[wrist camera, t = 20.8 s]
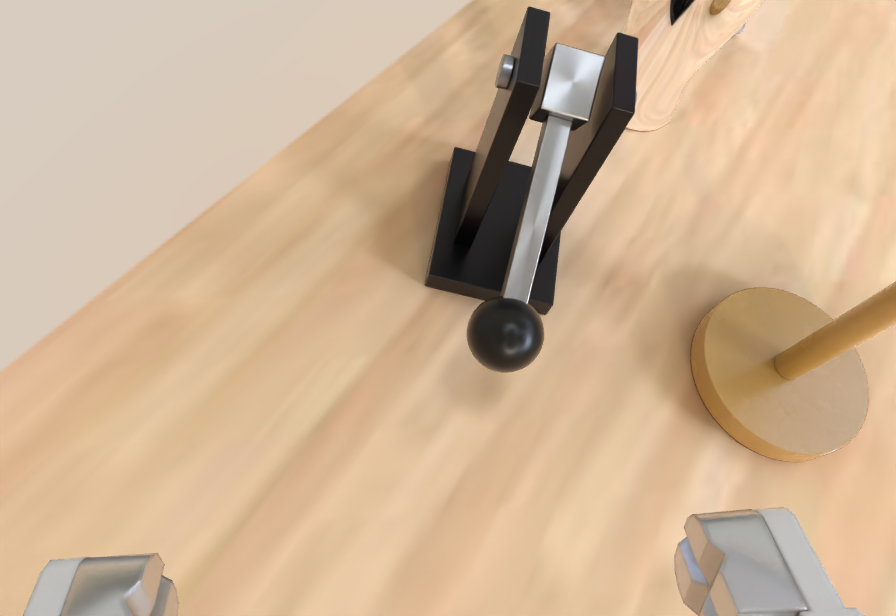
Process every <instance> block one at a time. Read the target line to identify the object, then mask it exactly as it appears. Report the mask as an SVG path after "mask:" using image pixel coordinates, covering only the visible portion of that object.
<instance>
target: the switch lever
mask: <svg viewBox="0 0 896 616" xmlns="http://www.w3.org/2000/svg"><path fill="white" fill-rule="evenodd" d="M604 60H605V57H604V56H602V55H599V54H595V53H592V52H588V51H585V50H581V49H577V48H574V47H570V46H567V45H563V44H560V43H556V44H555V45H554V46H553V48H552V49H551V50H550V52H549V53H548V54H547V56H546V57H545V58H544V63H543V70H542V78H541V85H540V89H539V91H538V93H537V96H536V98H535V100H534V102H533V105H532V108H531V112H530V116H529V118H530V119H531V120H534V121H538V122H542V123H543V124H542V128H541V132H540V136H539V140H538V144H537V148H536V152H535V157H534V161H533V165H532V169H531V173H530V177H529V181H528V185H527V189H526V193H525V197H524V201H523V205H522V209H521V213H520V218H519V222H518V226H517V230H516V234H515V238H514V242H513V246H512V250H511V254H510V258H509V262H508V266H507V270H506V274H505V279H504V283H503V287H502V291H501V295H500V296H497V297H493V298H491V299H488V300H486V301H485V302H483V303H482V304H481V305H479V306H478V307H477V308H476V310H475V311H474V312H473V314H472V315H471V318H470V320H469V323H468V327H467V341H468V345H469V348H470V350H471V352H472V354H473V356H474V357H475V358H476V359H477V361H478V362H480V363H481V364H482V365H483V366H485V367H487V368H488V369H491V370H493V371H497V372H505V373H507V372H514V371H518V370H520V369H523V368H525V367H526V366H528V365H529V364H530V363H531V362H533V361H534V359H535V358H536V357H537V356H538V354H539V352H540V350H541V348H542V345H543V340H544V328H543V323H542V321H541V318H540V316H539V314H538V313H537V311H536V310H535V309H534V308H533V307H532V306H531V305H530V304H529V303H528V300H529V296H530V292H531V288H532V284H533V280H534V276H535V272H536V268H537V264H538V259H539V255H540V251H541V247H542V243H543V239H544V235H545V231H546V227H547V223H548V219H549V215H550V211H551V207H552V203H553V199H554V195H555V191H556V187H557V183H558V179H559V175H560V171H561V167H562V163H563V159H564V155H565V151H566V147H567V143H568V138H569V134H570V130H572V131H575V130H577V129H578V128H579V127H581V126H582V125H584V124H585V123H587V122H588V121H589V120H590V116H591V112H592V108H593V104H594V100H595V96H596V92H597V88H598V84H599V80H600V76H601V72H602V68H603V64H604Z"/></svg>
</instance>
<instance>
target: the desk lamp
mask: <svg viewBox="0 0 896 616" xmlns="http://www.w3.org/2000/svg"><path fill="white" fill-rule="evenodd" d="M895 324H896V282H894V283H893V284H891V285H889V286H888V287H886V288H885V289H883V290H881V291H880V292H878V293H876V294H875V295H873V296H872V297H870V298H868V299H867V300H865V301H864V302H862V303H860V304H859V305H857V306H856V307H854V308H852V309H851V310H849V311H847V312H846V313H844V314H843V315H841V316H839V317H838V318H836V319H835V320H833V319H832V318H830V317H829V316H828V315H827V314H826V313H825V312H824V311H822V310H821V309H819V308H818V307H817V306H815V305H814V304H812V303H810V302H809V301H807V300H805V299H804V298H801V297H799V296H797V295H795V294H792V293H789V292H786V291H783V290H778V289H774V288H750V289H744V290H741V291H738V292H736V293H734V294H732V295H730V296H728V297H727V298H725V299H724V300H723V301H721V302H720V303H719V304H718V305H717V306H715V307H714V308H713V309H712V310H710V311H709V312H708V313H707V314H706V315H705V317H704V318H703V319H702V320H701V322H700V323H699V325H698V327H697V329H696V332H695V334H694V338H693V341H692V348H691V366H692V372H693V377H694V380H695V384H696V387H697V389H698V392H699V394H700V396H701V398H702V400H703V402H704V404H705V406H706V407H707V409H708V410H709V412H710V413H711V415H712V416H713V418H714V419H715V420H716V421H717V422H718V423H719V425H720V426H721V427H722V428H723V429H724V430H725V431H726V432H727V433H728V434H729V435H730V436H732V437H733V438H734V439H736V440H737V441H738V442H739V443H741V444H742V445H744V446H746V447H747V448H749V449H751V450H752V451H754V452H757V453H759V454H761V455H763V456H766V457H769V458H772V459H776V460H781V461H790V462H800V461H808V460H812V459H816V458H818V457H821V456H824V455H826V454H829V453H832V452H834V451H836V450H838V449H841V448H842V447H844V446H845V445H847V444H848V443H849V442H850V441H851V440H852V439H853V438H854V437H855V436H856V435H857V433H858V432H859V431H860V429H861V427H862V425H863V423H864V421H865V418H866V414H867V411H868V403H869V389H868V382H867V377H866V374H865V370H864V367H863V364H862V362H861V359H860V357H859V355H858V353H857V351H856V349H855V346H857V345H859V344H860V343H862V342H864V341H866V340H868V339H870V338H871V337H873V336H875V335H877V334H879V333H880V332H882V331H884V330H886V329H888V328H889V327H891V326H893V325H895Z"/></svg>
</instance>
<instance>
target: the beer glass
mask: <svg viewBox="0 0 896 616" xmlns="http://www.w3.org/2000/svg"><path fill="white" fill-rule="evenodd" d="M763 1H764V0H633V1H632V5H631V8H630V12H629V15H628V18H627V21H626V25H625V28H624V31H623V34H626V35H630V36H633V37H637V38H638V39H639V40H638V61H637V81H636V91H637V101H636V105H635V114H634V115H633V117H632V118H631V120H630V121H629V123H628V125H627V126H626V128H629V129H633V130H638V131H651V130H656V129H659V128H661V127H663V126H664V125H666V124H667V123H668V122H669V121H670V120H671V118H672V117H673V115H674V113H675V111H676V108H677V106H678V103H679V100H680V98H681V96H682V93H683V91H684V89H685V87H686V86H687V84H688V83H689V81H690V80H691V79H692V77H693V76H694V75H695V74H696V72H697V71H698V70H699V69H700V68H701V67H702V66H703V65H704V64H705V63H706V62H707V61H708V60H709V59H710V58H711V57H712V56H713V55H714V54H715V53H716V52H717V51H718V50H719V49H720V48H721V47H722V46H723V45H724V44H725V43H726V42H727V41H728V40H729V39H730V38H731V37H732V36H733V35H734V34H735V33H736V32H737V31H738V30H739V29H740V28H741V27H742V26H743V25H744V24H745V22H746V21H747V20H748V19H749V18H750V17H751V16H752V15H753V14H754V12H755V11H756V10H757V9H758V7H759V6H760V5H761V3H762V2H763Z"/></svg>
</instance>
